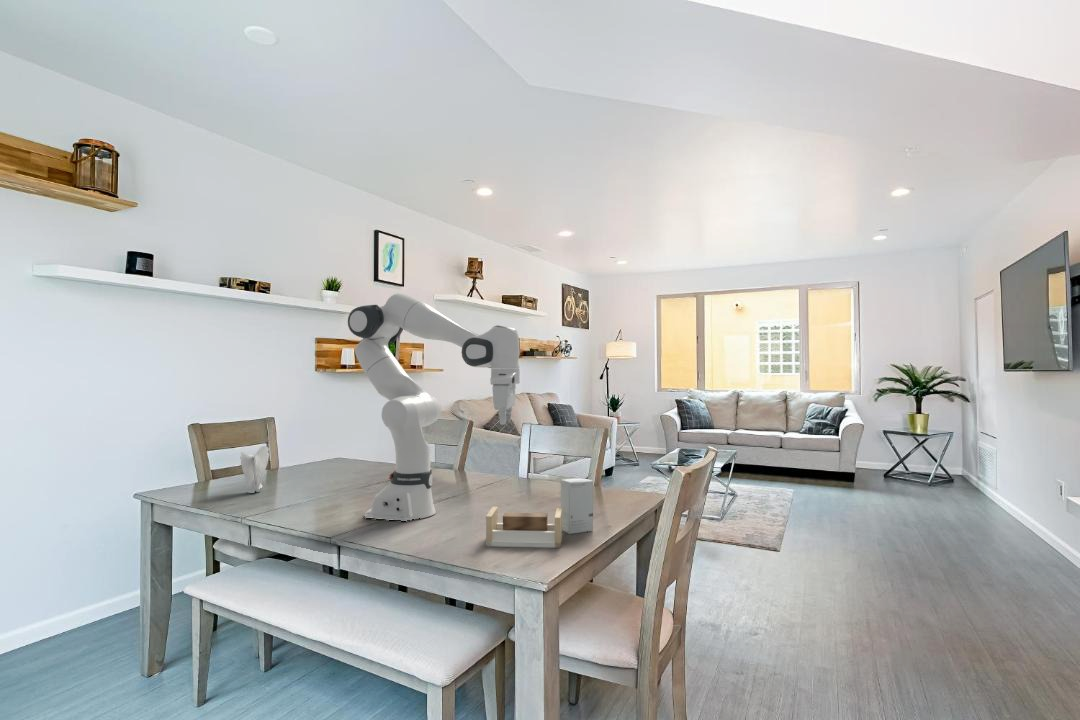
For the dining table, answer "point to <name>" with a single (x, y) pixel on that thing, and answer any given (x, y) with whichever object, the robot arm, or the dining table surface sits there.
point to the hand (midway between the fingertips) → (505, 422)
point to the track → (522, 533)
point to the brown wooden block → (525, 521)
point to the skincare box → (577, 505)
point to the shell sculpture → (254, 467)
